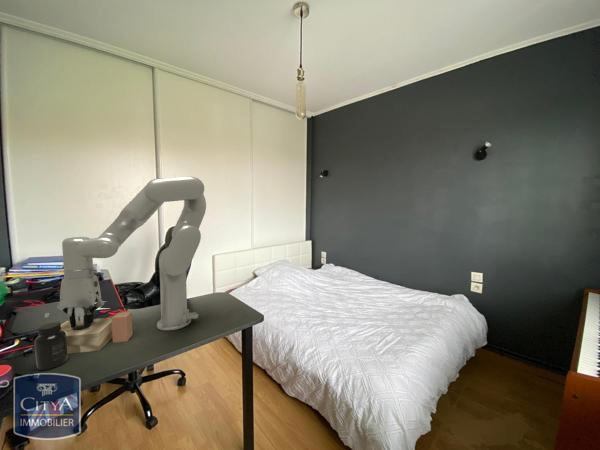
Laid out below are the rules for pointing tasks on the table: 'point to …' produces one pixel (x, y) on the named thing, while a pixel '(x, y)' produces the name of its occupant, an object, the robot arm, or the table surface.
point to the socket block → (88, 336)
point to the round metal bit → (80, 318)
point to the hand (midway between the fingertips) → (82, 324)
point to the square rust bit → (122, 326)
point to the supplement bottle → (50, 346)
